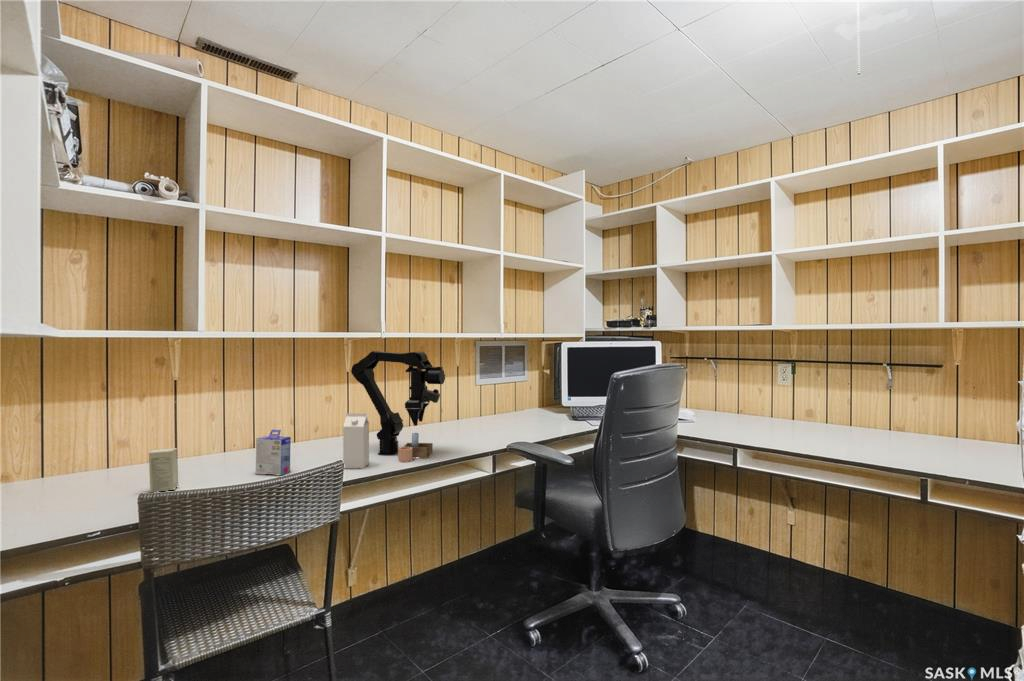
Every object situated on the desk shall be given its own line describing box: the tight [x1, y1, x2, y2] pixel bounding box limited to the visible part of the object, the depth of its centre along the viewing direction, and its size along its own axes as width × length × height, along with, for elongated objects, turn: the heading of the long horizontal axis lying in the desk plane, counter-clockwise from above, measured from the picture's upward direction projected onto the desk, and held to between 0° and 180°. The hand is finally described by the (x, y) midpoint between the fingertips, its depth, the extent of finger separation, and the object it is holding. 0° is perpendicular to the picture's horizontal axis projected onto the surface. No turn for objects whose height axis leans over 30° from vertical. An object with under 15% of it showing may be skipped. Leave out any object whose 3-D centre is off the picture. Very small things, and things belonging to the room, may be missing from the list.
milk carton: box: [342, 412, 370, 469], centre depth 179 cm, size 7×7×19 cm
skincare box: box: [148, 447, 179, 493], centre depth 151 cm, size 6×4×12 cm
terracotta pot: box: [397, 446, 414, 463], centre depth 187 cm, size 5×5×5 cm
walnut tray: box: [403, 442, 433, 459], centre depth 195 cm, size 10×8×4 cm
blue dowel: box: [411, 432, 420, 447], centre depth 195 cm, size 4×2×8 cm
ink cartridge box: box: [255, 429, 291, 476], centre depth 170 cm, size 10×6×14 cm, turn 80°
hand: (418, 423), depth 195 cm, fingers open, 9 cm apart
